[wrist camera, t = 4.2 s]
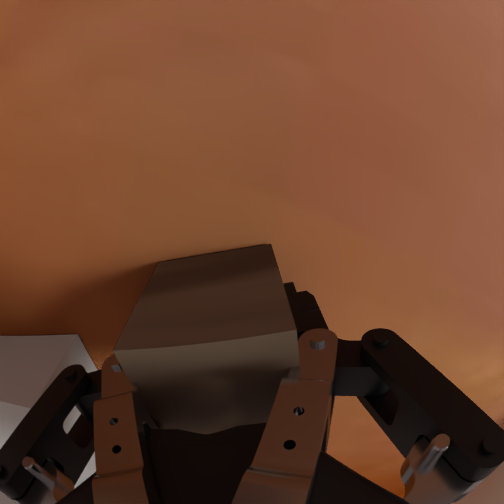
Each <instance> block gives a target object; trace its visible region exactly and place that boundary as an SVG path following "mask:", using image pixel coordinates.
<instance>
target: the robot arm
mask: <svg viewBox="0 0 504 504" xmlns="http://www.w3.org/2000/svg"><path fill="white" fill-rule="evenodd" d="M283 285H284V288H285V292H286V295H287V298H288V302H289V305H290V309H291V312H292V315H293V319H294V322H295V326H296V329H297V339H298V350H299V362H300V366H295V367H291V368H290V372H289V375H288V377H283V379H282V380H281V383H280V386H279V389H278V392H277V395H276V398H275V401H274V404H273V407H272V410H271V413H270V416H269V419H268V421H267V422H265V423H257V424H249V425H239V426H236V427H233V428H229V429H226V430H222V431H219V432H215V433H211V434H201V433H195V432H190V431H185V430H180V429H164V427H163V425H162V424H161V422H160V421H159V420H154V419H153V418H152V416H151V415H150V413H149V412H148V410H147V409H146V407H145V405H144V402H143V398H142V392H141V390H140V389H139V387H138V385H137V383H136V382H130V381H129V379H128V378H127V376H126V374H125V372H124V371H123V369H122V367H121V365H120V363H119V361H118V360H117V358H116V356H115V354H114V355H112V356H110V357H108V358H107V359H106V360H105V361H104V363H103V365H102V369H101V370H97V371H93V372H90V373H87V371H86V370H85V368H84V367H83V366H82V365H79V364H74V365H70V366H68V367H66V368H65V369H64V370H62V371H61V372H60V374H59V375H58V376H57V377H56V378H55V380H54V381H53V382H52V383H51V384H50V386H49V387H48V388H47V389H46V391H45V392H44V393H43V394H42V395H41V397H40V398H39V399H38V400H37V402H36V403H35V404H34V405H33V407H32V408H31V409H30V411H29V412H28V413H27V414H26V416H25V417H24V418H23V420H22V421H21V422H20V423H19V425H18V426H17V427H16V429H15V430H14V431H13V433H12V434H11V435H10V437H9V438H8V440H7V441H6V442H5V444H4V445H3V446H2V448H1V449H0V491H2V492H3V493H4V494H6V496H7V497H8V498H10V499H11V500H13V501H14V502H15V503H17V504H451V503H453V502H456V501H458V500H460V499H462V498H463V497H464V496H465V495H467V494H468V493H469V492H470V491H471V490H473V489H474V488H475V487H476V486H477V485H479V484H480V483H481V482H482V481H483V480H484V479H485V478H486V477H487V476H488V475H490V474H491V473H492V472H493V471H494V470H495V469H496V468H497V467H498V466H499V465H500V464H501V463H502V462H503V461H504V430H503V429H502V428H501V427H499V426H498V425H497V424H496V423H495V422H494V421H493V420H492V419H491V418H490V417H489V416H488V415H487V414H486V413H485V412H484V411H482V410H481V409H480V408H479V407H478V406H477V405H476V404H475V403H474V402H473V401H472V400H471V399H469V398H468V397H467V396H466V395H465V394H464V393H463V392H462V391H461V390H460V389H458V388H457V387H456V386H455V385H454V384H453V383H452V382H451V381H450V380H448V379H447V378H446V377H445V376H444V375H443V374H442V373H441V372H440V371H438V370H437V369H436V368H435V367H434V366H433V365H432V364H430V363H429V362H428V361H427V360H426V359H425V358H424V357H422V356H421V355H420V354H419V353H418V352H417V351H416V350H414V349H413V348H412V347H411V346H410V345H409V344H408V343H406V342H405V341H404V340H403V339H402V338H401V337H399V336H398V335H397V334H396V333H395V332H393V331H391V330H388V329H383V328H378V329H372V330H370V331H368V332H366V333H365V334H364V335H363V337H362V339H361V341H348V340H342V339H339V338H337V336H336V334H335V333H334V332H332V331H330V330H329V329H328V327H327V324H326V322H325V320H324V318H323V315H322V313H321V311H320V309H319V306H318V304H317V302H316V300H315V297H314V296H313V295H312V294H310V293H309V292H308V291H302V292H296V289H295V286H294V283H293V282H289V283H283ZM335 396H357V398H358V399H359V401H360V402H361V403H362V405H363V406H364V407H365V408H366V410H367V411H368V412H369V413H370V415H371V416H372V417H373V418H374V420H375V421H376V422H377V423H378V425H379V426H380V427H381V429H382V430H383V431H384V432H385V434H386V435H387V436H388V437H389V439H390V440H391V441H392V442H393V444H394V445H395V446H396V447H397V449H398V450H399V451H400V452H401V454H402V455H403V456H404V457H405V461H404V462H403V464H402V466H401V470H400V476H401V479H402V481H403V483H404V485H405V495H404V498H403V499H402V498H400V497H399V496H397V495H395V494H393V493H391V492H389V491H387V490H386V489H384V488H382V487H380V486H379V485H377V484H375V483H373V482H372V481H370V480H368V479H366V478H365V477H363V476H361V475H360V474H358V473H357V472H355V471H353V470H352V469H350V468H349V467H347V466H345V465H344V464H342V463H341V462H339V461H338V460H336V459H335V458H333V457H332V456H330V455H329V454H327V453H326V452H327V446H328V440H329V433H330V426H331V420H332V414H333V407H334V401H335ZM74 406H76V408H77V409H78V410H79V412H80V413H81V415H80V416H79V418H78V419H77V420H76V422H75V423H74V425H73V426H72V428H71V429H70V431H69V432H68V434H67V433H66V432H65V431H64V428H63V423H64V421H65V419H66V418H67V416H68V415H69V413H70V412H71V411H72V409H73V408H74ZM94 452H95V463H96V472H95V473H93V474H92V475H91V476H90V477H89V478H87V479H86V480H85V481H84V482H82V483H81V484H80V485H79V486H77V487H76V488H75V489H74V486H75V484H76V483H77V481H78V479H79V477H80V476H81V474H82V472H83V471H84V469H85V467H86V465H87V464H88V462H89V460H90V459H91V457H92V455H93V453H94Z"/></svg>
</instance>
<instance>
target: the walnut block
mask: <svg viewBox="0 0 504 504" xmlns="http://www.w3.org/2000/svg"><path fill="white" fill-rule="evenodd" d="M113 352H114V354H115V356H116V358H117V360H118V361H119V363H120V365H121V367H122V369H123V371H124V372H125V374H126V376H127V378H128V379H129V381H130V382H136V383H137V385H138V387H139V389H140V390H141V392H142V398H143V402H144V405H145V407H146V409H147V410H148V412H149V413H150V415H151V416H152V418H153V419H154V420H159V421H160V422H161V424H162V425H163V427H164V429H180V430H185V431H190V432H195V433H201V434H211V433H215V432H219V431H222V430H226V429H229V428H233V427H236V426H239V425H249V424H257V423H265V422H267V421H268V419H269V416H270V413H271V410H272V407H273V404H274V401H275V398H276V395H277V392H278V389H279V386H280V383H281V380H282V379H283V377H288V375H289V372H290V368H291V367H295V366H300V362H299V350H298V339H297V329H296V326H295V322H294V319H293V315H292V312H291V309H290V305H289V302H288V298H287V295H286V292H285V288H284V285H283V282H282V278H281V275H280V272H279V268H278V265H277V262H276V259H275V255H274V252H273V249H272V246H271V244H267V245H261V246H254V247H248V248H242V249H236V250H230V251H224V252H218V253H212V254H206V255H200V256H194V257H188V258H182V259H176V260H170V261H164V262H159V263H158V265H157V267H156V269H155V270H154V272H153V274H152V276H151V278H150V279H149V281H148V283H147V285H146V287H145V289H144V290H143V292H142V294H141V296H140V298H139V300H138V302H137V304H136V305H135V307H134V309H133V311H132V313H131V315H130V317H129V319H128V321H127V323H126V325H125V327H124V329H123V331H122V333H121V335H120V337H119V339H118V341H117V343H116V345H115V347H114V349H113Z"/></svg>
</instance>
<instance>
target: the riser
mask: <svg viewBox="0 0 504 504" xmlns="http://www.w3.org/2000/svg"><path fill="white" fill-rule="evenodd" d="M74 364H79V365H82V366H83V367H84V368H85V370H86V371H87V373H90V372H93V371H97V368H96V367H95V365H94V363H93V361H92V360H91V358H90V356H89V354H88V352H87V351H86V349H85V347H84V345H83V343H82V341H81V339H80V338H79V336H78V334H70V335H41V336H0V449H1V448H2V446H3V445H4V444H5V442H6V441H7V440H8V438H9V437H10V435H11V434H12V433H13V431H14V430H15V429H16V427H17V426H18V425H19V423H20V422H21V421H22V420H23V418H24V417H25V416H26V414H27V413H28V412H29V411H30V409H31V408H32V407H33V405H34V404H35V403H36V402H37V400H38V399H39V398H40V397H41V395H42V394H43V393H44V392H45V391H46V389H47V388H48V387H49V386H50V384H51V383H52V382H53V381H54V380H55V378H56V377H57V376H58V375H59V374H60V372H61V371H62V370H64V369H65V368H66V367H68V366H70V365H74ZM80 415H81V413H80V412H79V410H78V409H77V408H76V406H74V408H73V409H72V411H71V412H70V413H69V415H68V416H67V418H66V419H65V421H64V423H63V428H64V431H65V432H66V433H67V434H68V432H69V431H70V429H71V428H72V426H73V425H74V423H75V422H76V420H77V419H78V418H79V416H80ZM95 472H96V463H95V452H94V453H93V455H92V457H91V459H90V460H89V462H88V464H87V465H86V467H85V469H84V471H83V472H82V474H81V476H80V477H79V479H78V481H77V483H76V484H75V486H74V489H75V488H76V487H77V486H79V485H80V484H81V483H82V482H84V481H85V480H86V479H87V478H89V477H90V476H91V475H92V474H93V473H95Z"/></svg>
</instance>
